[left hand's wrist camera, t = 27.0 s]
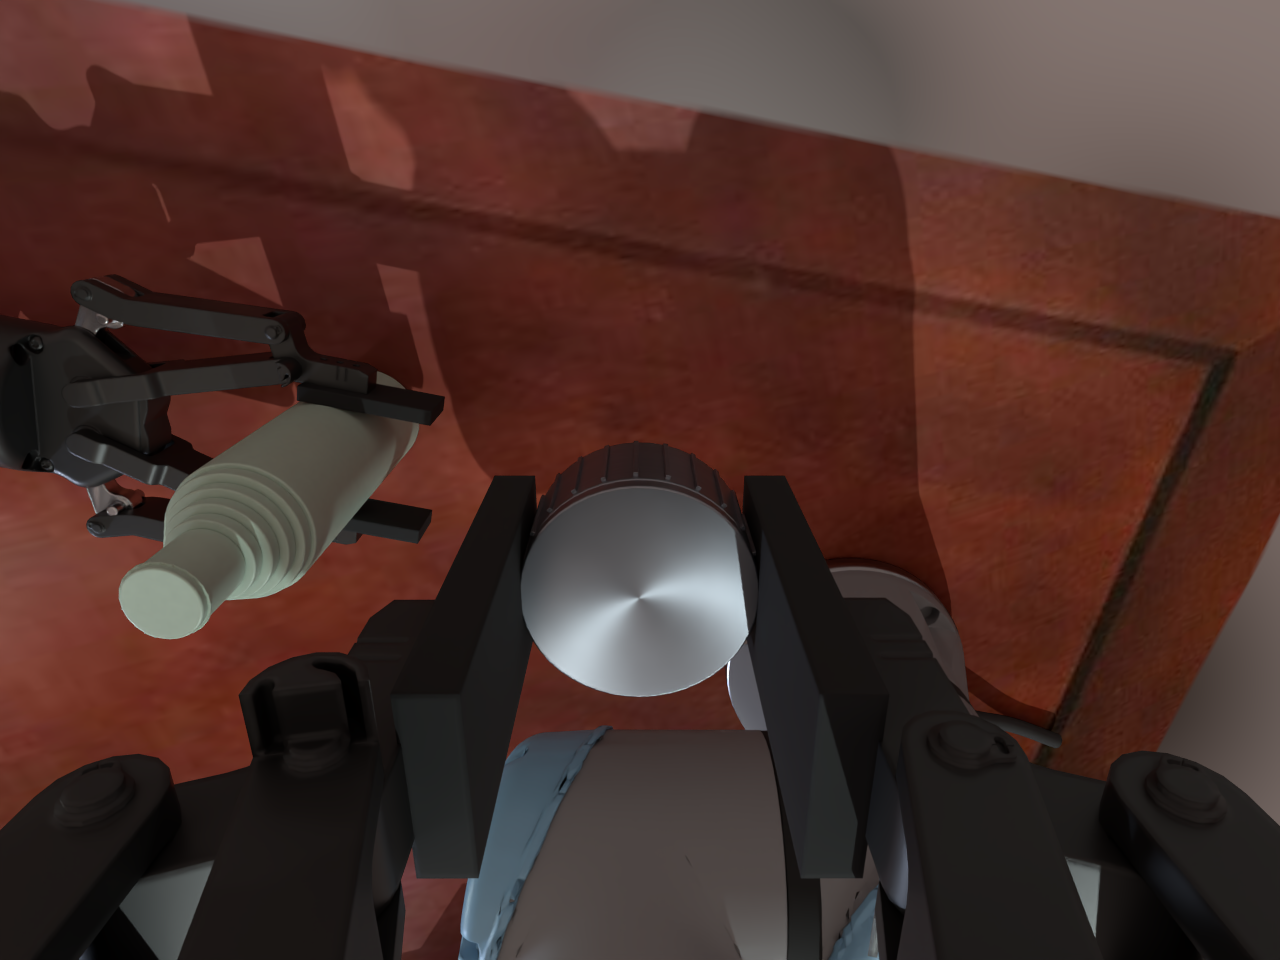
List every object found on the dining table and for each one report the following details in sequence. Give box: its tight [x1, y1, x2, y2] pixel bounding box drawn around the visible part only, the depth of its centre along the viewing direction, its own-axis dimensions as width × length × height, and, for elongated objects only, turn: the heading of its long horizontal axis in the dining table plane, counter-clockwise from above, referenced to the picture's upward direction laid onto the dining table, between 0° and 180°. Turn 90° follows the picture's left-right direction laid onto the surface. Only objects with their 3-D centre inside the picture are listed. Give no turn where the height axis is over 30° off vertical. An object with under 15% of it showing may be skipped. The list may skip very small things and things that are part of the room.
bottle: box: [119, 371, 419, 639], centre depth 36 cm, size 6×6×21 cm
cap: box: [520, 441, 759, 697], centre depth 14 cm, size 4×4×2 cm
